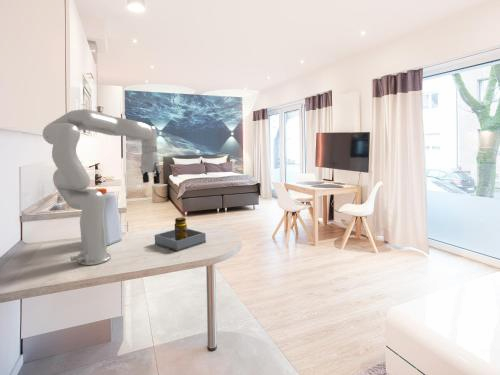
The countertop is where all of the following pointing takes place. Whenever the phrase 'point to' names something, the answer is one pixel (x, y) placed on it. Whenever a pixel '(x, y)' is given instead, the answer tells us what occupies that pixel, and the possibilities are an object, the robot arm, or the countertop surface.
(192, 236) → the open bin
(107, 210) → the plastic bottle
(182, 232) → the condiment
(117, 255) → the countertop surface
